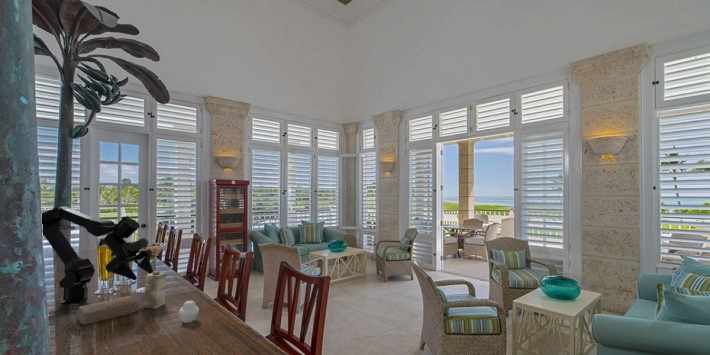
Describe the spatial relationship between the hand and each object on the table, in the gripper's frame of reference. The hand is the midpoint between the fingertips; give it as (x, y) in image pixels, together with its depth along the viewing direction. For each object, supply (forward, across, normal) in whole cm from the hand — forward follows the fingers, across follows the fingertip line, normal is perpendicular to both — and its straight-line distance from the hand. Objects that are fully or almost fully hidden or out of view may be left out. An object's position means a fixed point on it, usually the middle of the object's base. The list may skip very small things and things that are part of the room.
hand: (144, 276), depth 130 cm
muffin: (+26, -12, -10) cm, 30 cm away
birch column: (+11, 0, +4) cm, 12 cm away
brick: (+5, -11, +11) cm, 17 cm away
